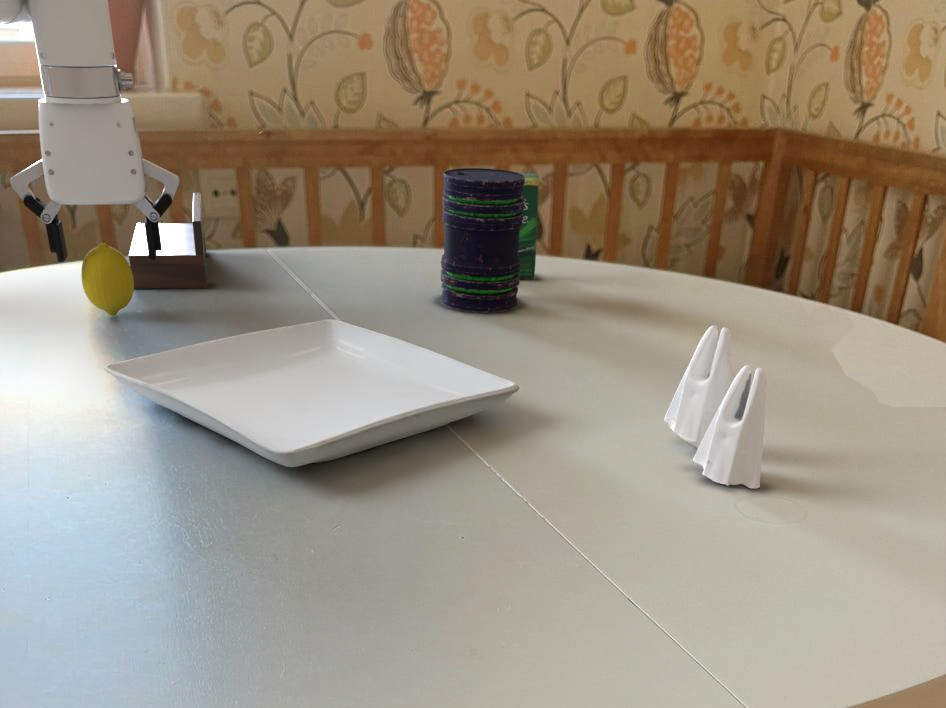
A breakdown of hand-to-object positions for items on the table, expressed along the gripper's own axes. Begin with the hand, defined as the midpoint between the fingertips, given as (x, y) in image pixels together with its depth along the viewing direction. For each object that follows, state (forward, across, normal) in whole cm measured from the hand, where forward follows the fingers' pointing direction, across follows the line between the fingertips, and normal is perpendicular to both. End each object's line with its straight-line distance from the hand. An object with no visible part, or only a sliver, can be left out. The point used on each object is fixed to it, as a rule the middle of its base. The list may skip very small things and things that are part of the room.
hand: (108, 258), depth 117 cm
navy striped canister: (+7, -43, -4) cm, 44 cm away
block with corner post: (+6, -6, -23) cm, 24 cm away
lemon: (+7, 0, 0) cm, 7 cm away
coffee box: (+7, -50, -17) cm, 53 cm away
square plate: (+7, -19, +34) cm, 39 cm away
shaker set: (+8, -52, +50) cm, 72 cm away
